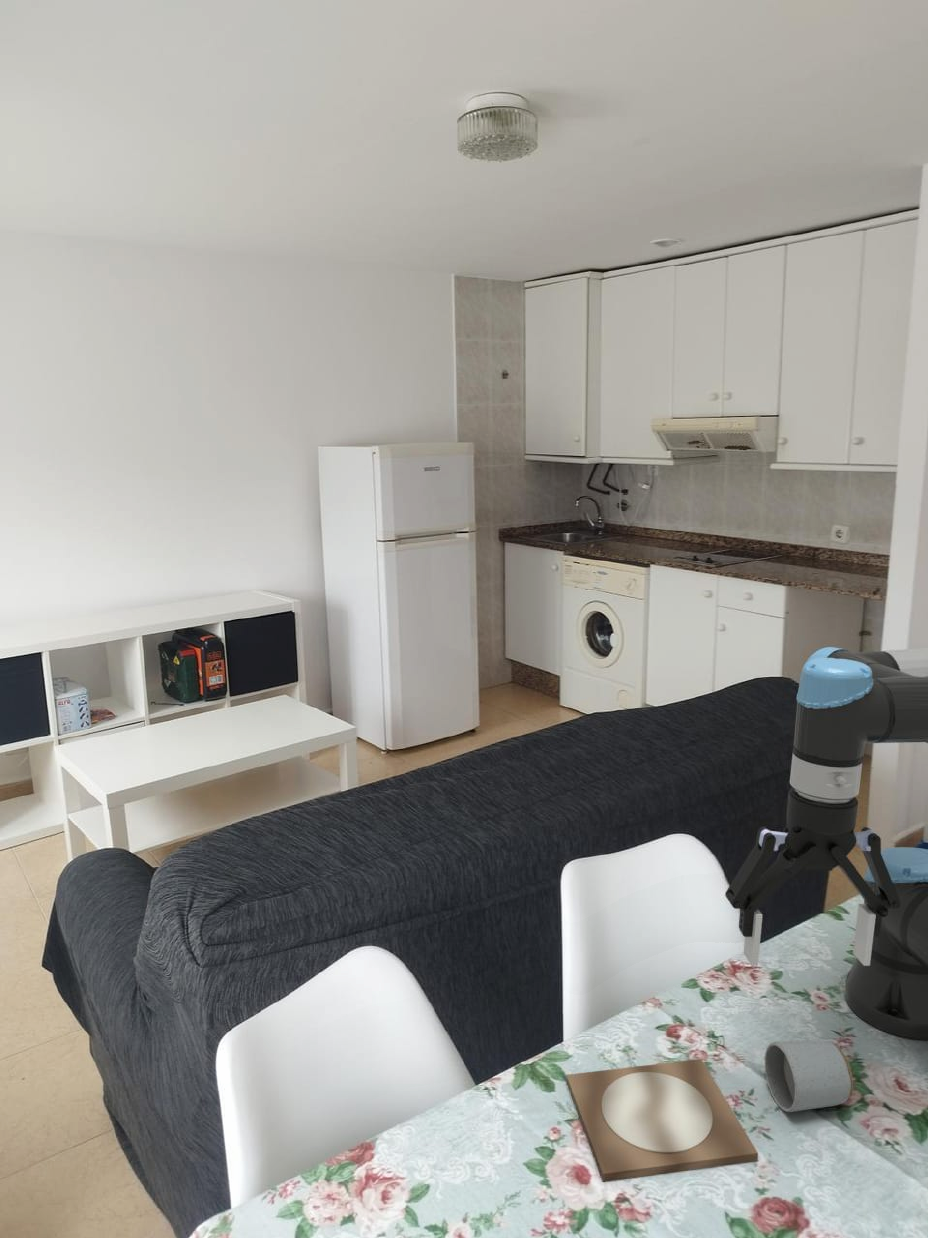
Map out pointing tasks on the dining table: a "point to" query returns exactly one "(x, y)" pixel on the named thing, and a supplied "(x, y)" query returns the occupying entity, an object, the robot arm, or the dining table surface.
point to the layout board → (657, 1120)
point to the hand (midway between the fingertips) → (806, 959)
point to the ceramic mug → (807, 1074)
